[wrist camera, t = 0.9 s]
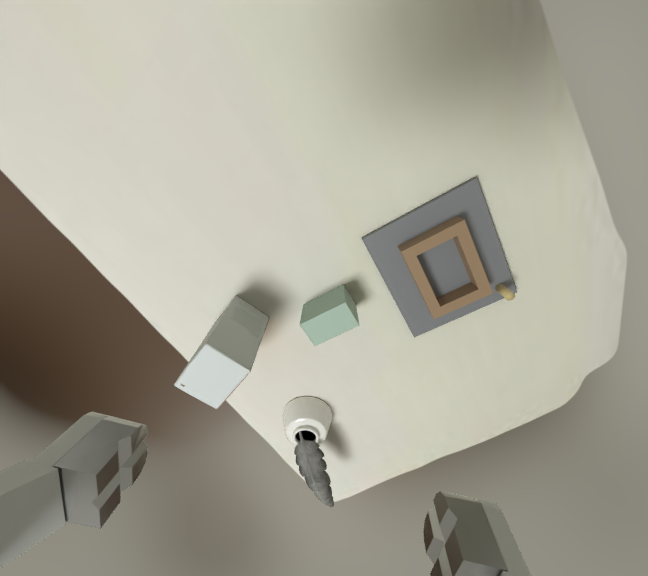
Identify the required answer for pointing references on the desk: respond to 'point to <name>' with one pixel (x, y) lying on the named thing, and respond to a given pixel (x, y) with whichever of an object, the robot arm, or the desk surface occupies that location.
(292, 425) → the inkwell
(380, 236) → the keyed plate
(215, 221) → the desk surface
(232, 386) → the small box
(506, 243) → the desk surface
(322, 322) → the sage block
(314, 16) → the desk surface
